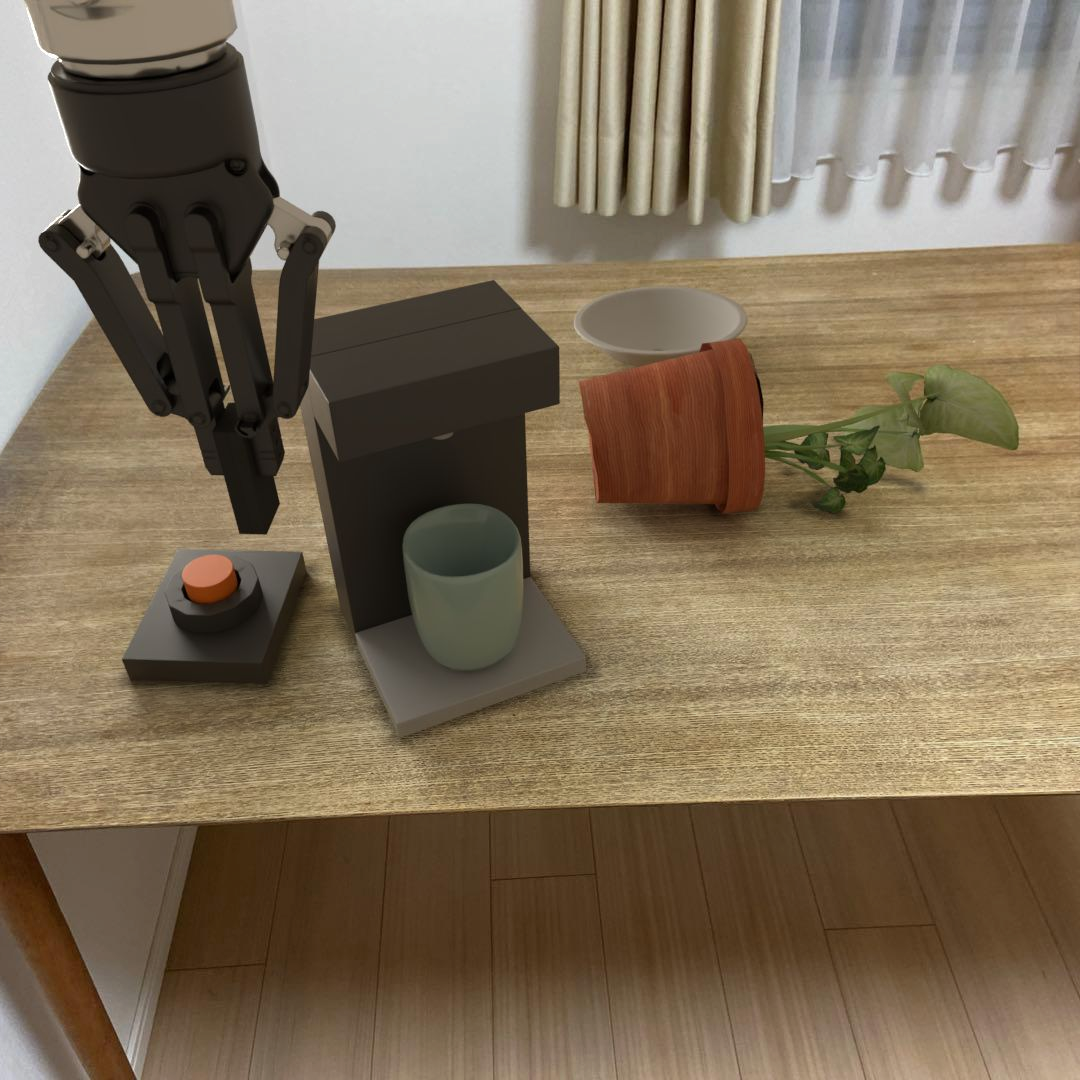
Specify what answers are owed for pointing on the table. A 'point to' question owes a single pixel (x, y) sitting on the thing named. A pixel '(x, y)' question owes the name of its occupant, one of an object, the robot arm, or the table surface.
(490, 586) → the cup
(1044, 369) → the table surface
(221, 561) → the button
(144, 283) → the robot arm
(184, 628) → the control pad
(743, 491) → the potted plant
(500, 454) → the coffee maker
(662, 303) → the dish
